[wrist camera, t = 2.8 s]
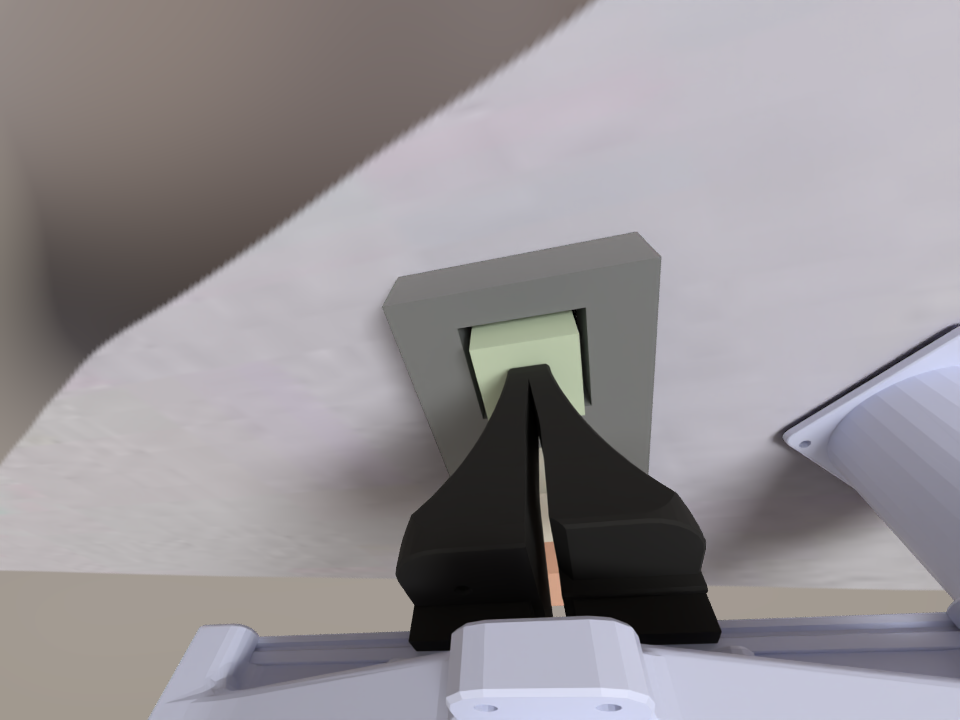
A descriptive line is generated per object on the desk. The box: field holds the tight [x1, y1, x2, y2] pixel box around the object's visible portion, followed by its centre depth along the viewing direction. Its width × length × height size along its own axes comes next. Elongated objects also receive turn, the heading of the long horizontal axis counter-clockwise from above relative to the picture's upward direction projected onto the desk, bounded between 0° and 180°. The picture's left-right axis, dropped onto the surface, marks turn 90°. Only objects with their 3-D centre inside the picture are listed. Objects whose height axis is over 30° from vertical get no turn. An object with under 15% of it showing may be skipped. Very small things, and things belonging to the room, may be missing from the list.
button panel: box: [382, 232, 661, 477], centre depth 19 cm, size 20×9×2 cm, turn 12°
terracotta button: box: [544, 542, 564, 606], centre depth 21 cm, size 4×4×3 cm
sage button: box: [469, 310, 585, 421], centre depth 15 cm, size 4×4×3 cm
